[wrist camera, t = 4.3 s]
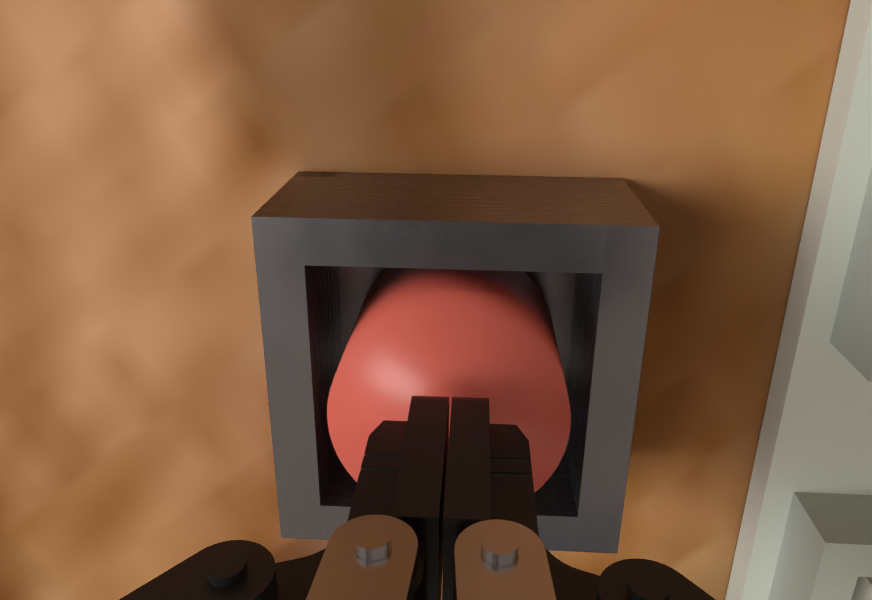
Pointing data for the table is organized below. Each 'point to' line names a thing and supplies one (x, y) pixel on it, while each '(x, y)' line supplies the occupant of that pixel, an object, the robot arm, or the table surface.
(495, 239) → the button housing
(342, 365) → the button
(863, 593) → the block
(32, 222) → the table surface
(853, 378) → the grey holder tray
